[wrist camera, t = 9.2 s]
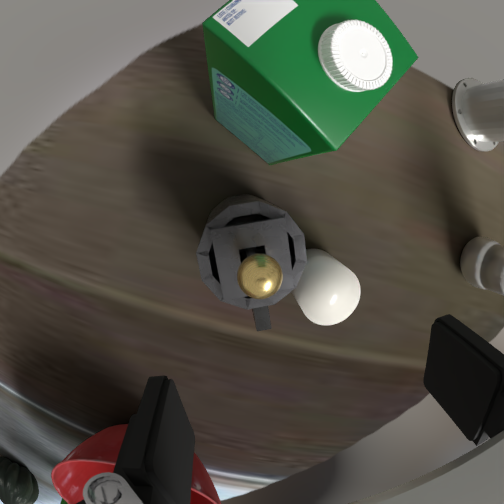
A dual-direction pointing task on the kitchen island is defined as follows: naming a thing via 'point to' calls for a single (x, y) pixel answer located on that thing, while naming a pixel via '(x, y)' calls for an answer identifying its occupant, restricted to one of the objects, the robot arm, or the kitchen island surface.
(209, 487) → the mixing bowl
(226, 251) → the carafe
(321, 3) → the milk carton
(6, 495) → the squash
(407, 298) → the kitchen island surface
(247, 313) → the kitchen island surface
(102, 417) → the kitchen island surface
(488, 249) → the plastic bottle
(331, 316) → the white egg shape
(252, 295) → the plunger
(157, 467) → the robot arm
